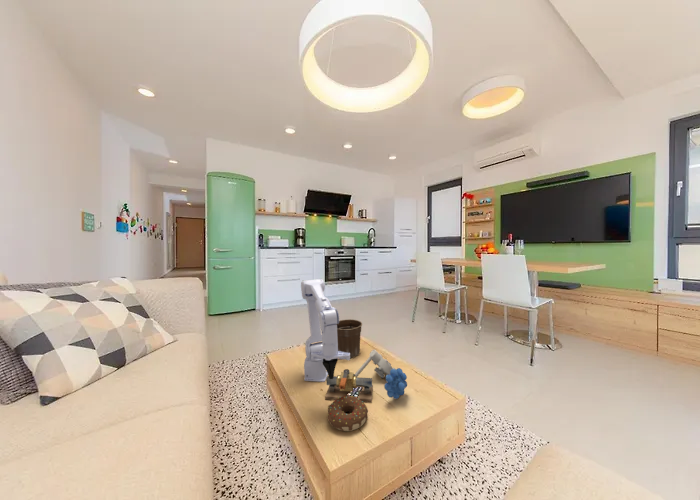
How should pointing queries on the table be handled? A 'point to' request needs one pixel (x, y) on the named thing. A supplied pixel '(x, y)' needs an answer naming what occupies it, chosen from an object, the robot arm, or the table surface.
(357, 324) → the plant pot
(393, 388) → the grapes
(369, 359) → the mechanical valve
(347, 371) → the valve lever
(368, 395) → the walnut board
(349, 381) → the pipe and valve body
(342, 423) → the donut
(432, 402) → the table surface
